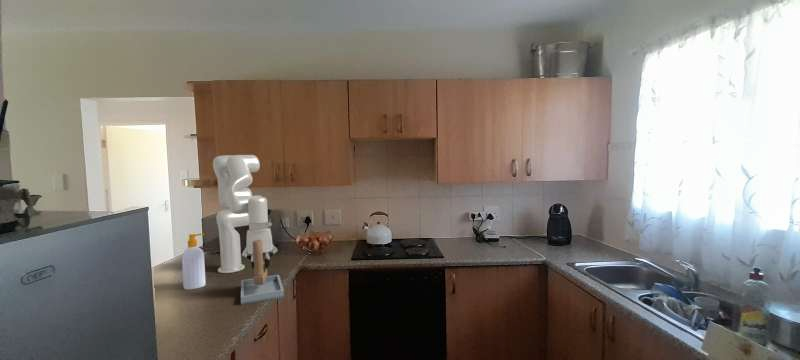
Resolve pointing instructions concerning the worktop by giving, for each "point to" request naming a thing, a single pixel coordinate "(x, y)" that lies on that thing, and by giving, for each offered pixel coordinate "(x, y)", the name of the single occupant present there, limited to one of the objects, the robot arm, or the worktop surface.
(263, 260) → the wooden mallet
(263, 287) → the tray
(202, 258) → the soap bottle
